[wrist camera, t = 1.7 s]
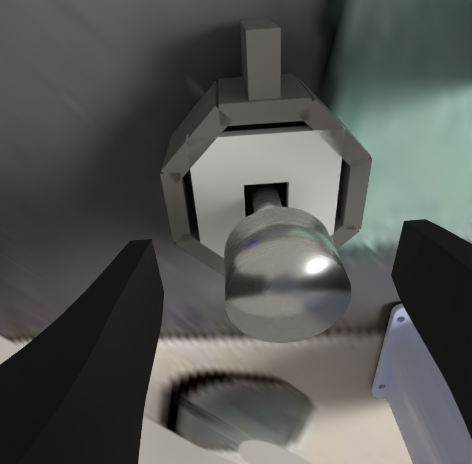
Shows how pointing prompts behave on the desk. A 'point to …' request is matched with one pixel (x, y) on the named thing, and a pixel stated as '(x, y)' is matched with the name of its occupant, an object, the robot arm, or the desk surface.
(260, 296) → the plunger
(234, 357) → the desk surface
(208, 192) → the press
